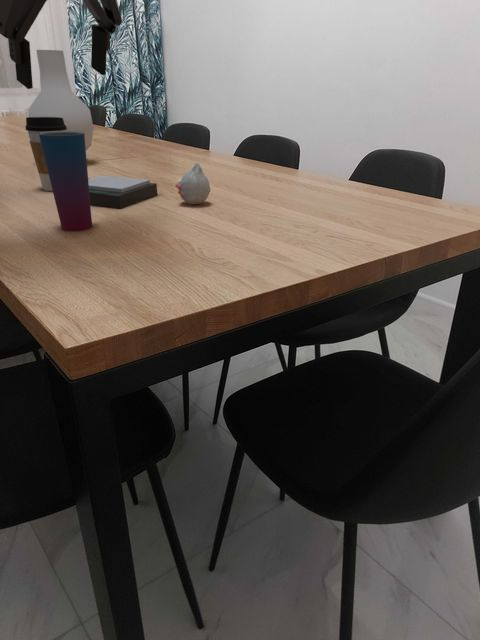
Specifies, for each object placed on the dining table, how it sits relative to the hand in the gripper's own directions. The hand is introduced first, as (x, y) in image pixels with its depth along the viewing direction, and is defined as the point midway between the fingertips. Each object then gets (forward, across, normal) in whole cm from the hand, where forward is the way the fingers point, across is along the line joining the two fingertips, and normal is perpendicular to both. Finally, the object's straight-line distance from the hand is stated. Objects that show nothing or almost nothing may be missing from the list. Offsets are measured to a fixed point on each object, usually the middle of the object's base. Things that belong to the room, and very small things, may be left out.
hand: (63, 77), depth 79 cm
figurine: (+21, +19, -16) cm, 33 cm away
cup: (+19, -6, -12) cm, 23 cm away
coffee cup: (+34, +9, +15) cm, 39 cm away
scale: (+27, +11, 0) cm, 29 cm away
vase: (+49, +31, +40) cm, 70 cm away
